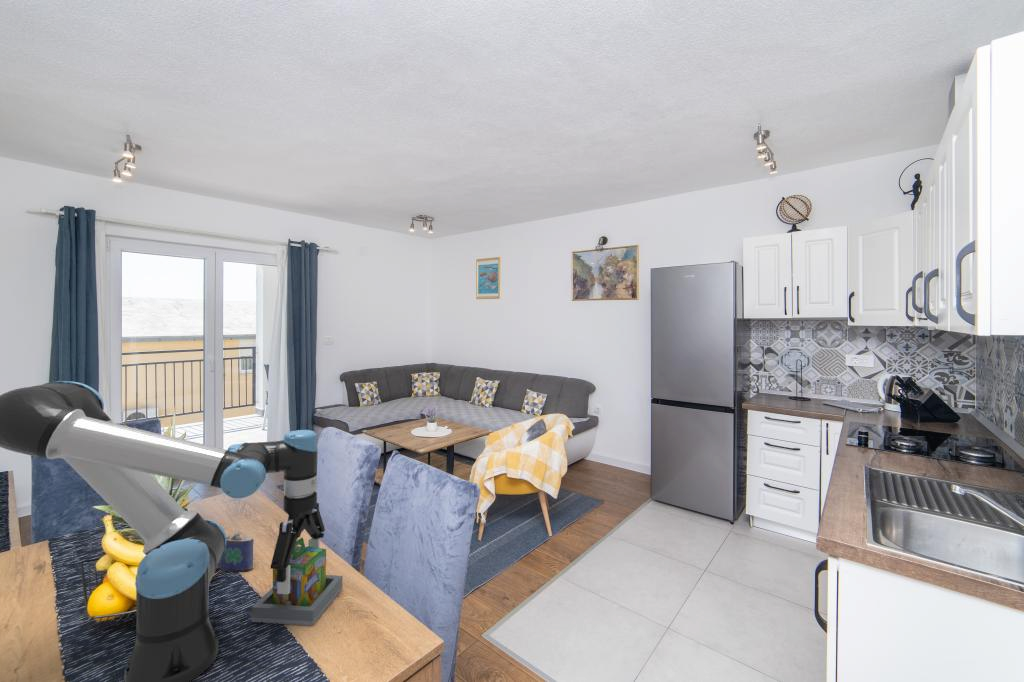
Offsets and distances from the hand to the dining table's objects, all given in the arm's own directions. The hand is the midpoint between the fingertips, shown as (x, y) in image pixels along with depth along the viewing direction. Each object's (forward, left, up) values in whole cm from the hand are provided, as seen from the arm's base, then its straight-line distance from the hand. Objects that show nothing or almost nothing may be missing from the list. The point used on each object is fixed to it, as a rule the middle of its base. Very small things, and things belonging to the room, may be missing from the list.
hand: (299, 577), depth 110 cm
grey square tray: (0, 0, -7) cm, 7 cm away
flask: (+14, +27, -7) cm, 31 cm away
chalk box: (0, 0, -6) cm, 6 cm away
